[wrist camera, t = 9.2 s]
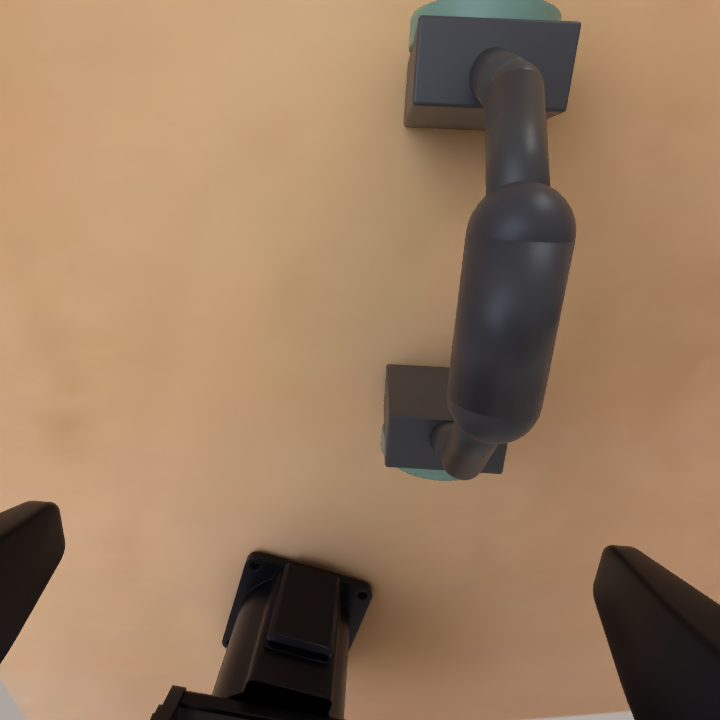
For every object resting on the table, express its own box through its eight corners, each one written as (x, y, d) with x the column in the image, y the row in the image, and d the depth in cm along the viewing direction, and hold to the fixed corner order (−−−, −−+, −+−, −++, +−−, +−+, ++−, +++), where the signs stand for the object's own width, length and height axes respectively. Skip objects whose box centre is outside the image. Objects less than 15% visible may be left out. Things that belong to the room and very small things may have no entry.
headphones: (532, 46, 16) (766, -170, 6) (476, 424, 21) (559, 629, 11) (406, 41, 16) (447, -180, 6) (380, 418, 21) (381, 617, 11)
